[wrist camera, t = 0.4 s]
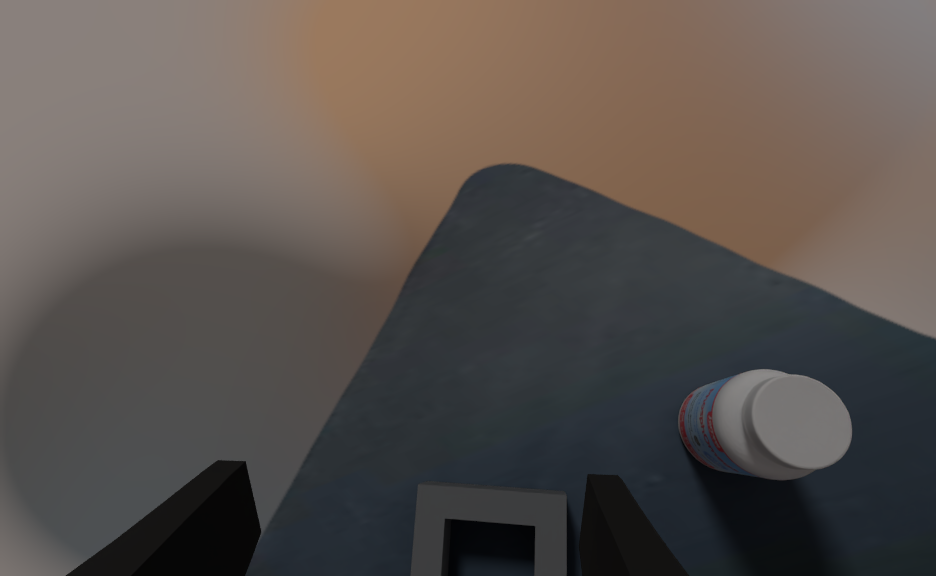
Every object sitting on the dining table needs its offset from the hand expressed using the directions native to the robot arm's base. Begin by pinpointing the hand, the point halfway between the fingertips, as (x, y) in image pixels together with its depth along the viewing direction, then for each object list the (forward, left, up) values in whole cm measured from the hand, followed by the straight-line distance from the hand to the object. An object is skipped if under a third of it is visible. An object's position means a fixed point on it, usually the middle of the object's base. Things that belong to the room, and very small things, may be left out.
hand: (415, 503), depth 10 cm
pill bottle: (+3, -16, -28) cm, 32 cm away
